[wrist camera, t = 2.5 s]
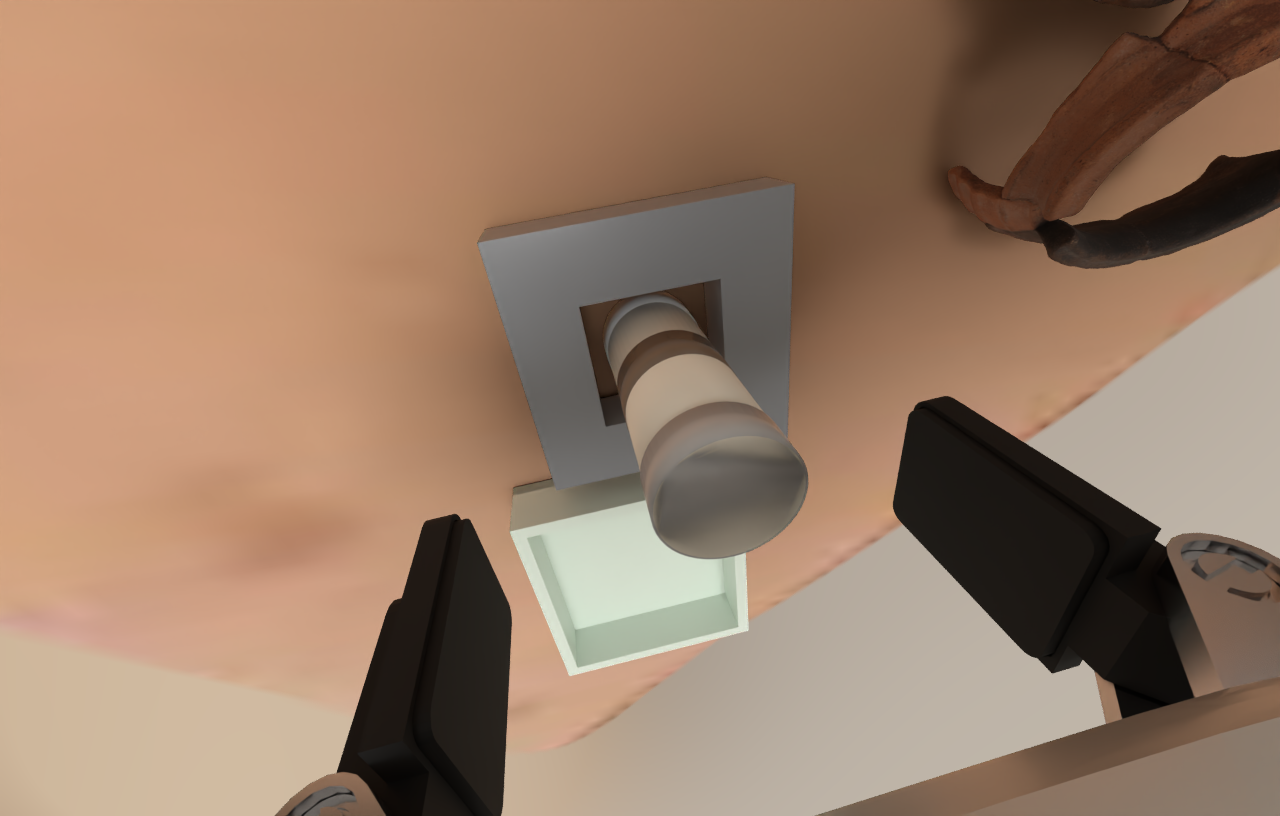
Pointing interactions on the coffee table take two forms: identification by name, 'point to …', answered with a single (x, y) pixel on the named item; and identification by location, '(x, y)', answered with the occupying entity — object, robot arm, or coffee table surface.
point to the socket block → (634, 265)
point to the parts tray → (619, 575)
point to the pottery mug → (1139, 142)
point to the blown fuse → (698, 434)
